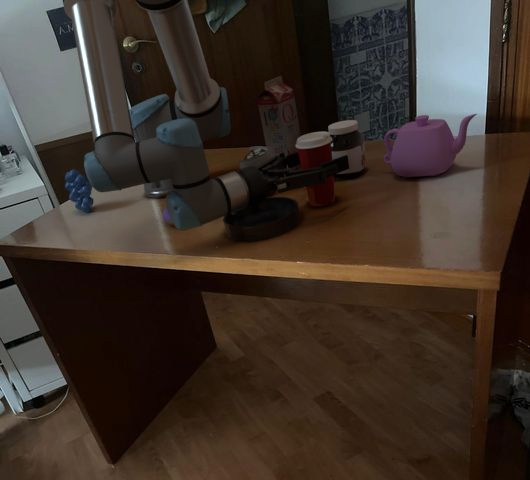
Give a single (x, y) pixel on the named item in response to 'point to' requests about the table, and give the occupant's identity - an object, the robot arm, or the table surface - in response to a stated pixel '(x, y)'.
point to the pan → (263, 219)
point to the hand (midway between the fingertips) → (329, 157)
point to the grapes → (79, 190)
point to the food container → (256, 159)
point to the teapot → (425, 146)
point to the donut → (167, 217)
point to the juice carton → (279, 118)
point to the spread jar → (348, 147)
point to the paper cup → (317, 165)
